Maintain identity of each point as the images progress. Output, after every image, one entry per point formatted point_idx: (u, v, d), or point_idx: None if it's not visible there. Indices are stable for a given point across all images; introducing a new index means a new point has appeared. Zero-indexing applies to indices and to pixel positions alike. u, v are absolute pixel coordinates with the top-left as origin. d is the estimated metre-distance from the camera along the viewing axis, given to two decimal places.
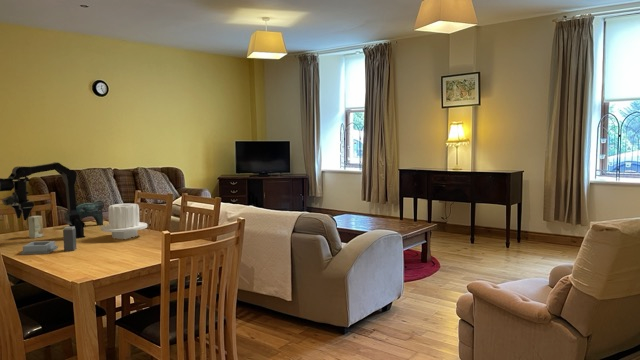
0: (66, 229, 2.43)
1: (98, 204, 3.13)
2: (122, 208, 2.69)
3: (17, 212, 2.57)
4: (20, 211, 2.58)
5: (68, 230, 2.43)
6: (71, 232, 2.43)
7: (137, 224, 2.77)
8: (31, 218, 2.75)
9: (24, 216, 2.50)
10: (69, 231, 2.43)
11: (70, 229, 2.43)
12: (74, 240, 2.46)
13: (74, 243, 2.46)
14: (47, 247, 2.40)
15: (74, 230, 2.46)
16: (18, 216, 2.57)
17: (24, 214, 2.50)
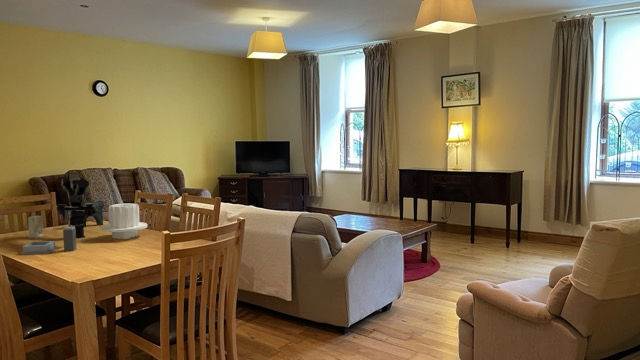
0: (66, 229, 2.43)
1: (98, 204, 3.13)
2: (122, 208, 2.69)
3: (65, 216, 2.53)
4: (66, 217, 2.54)
5: (68, 230, 2.43)
6: (71, 232, 2.43)
7: (137, 224, 2.77)
8: (31, 218, 2.75)
9: (84, 217, 2.54)
10: (69, 231, 2.43)
11: (70, 229, 2.43)
12: (74, 240, 2.46)
13: (74, 243, 2.46)
14: (47, 247, 2.40)
15: (74, 230, 2.46)
16: (64, 220, 2.52)
17: (85, 216, 2.55)
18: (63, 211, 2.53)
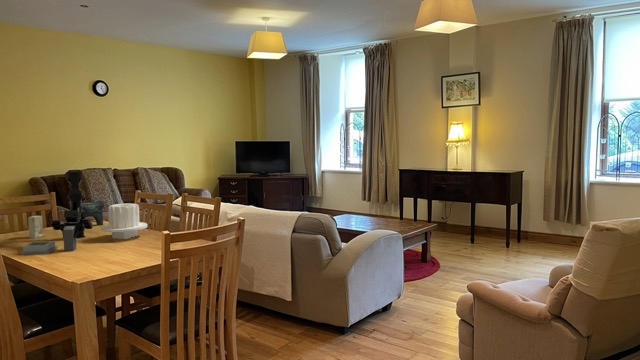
0: (66, 229, 2.43)
1: (98, 204, 3.13)
2: (122, 208, 2.69)
3: None
4: None
5: (68, 230, 2.43)
6: (71, 232, 2.43)
7: (137, 224, 2.77)
8: (31, 218, 2.75)
9: (76, 233, 2.46)
10: (69, 231, 2.43)
11: (70, 229, 2.43)
12: (74, 240, 2.46)
13: (74, 243, 2.46)
14: (47, 247, 2.40)
15: (74, 230, 2.46)
16: None
17: (77, 232, 2.46)
18: (62, 227, 2.46)
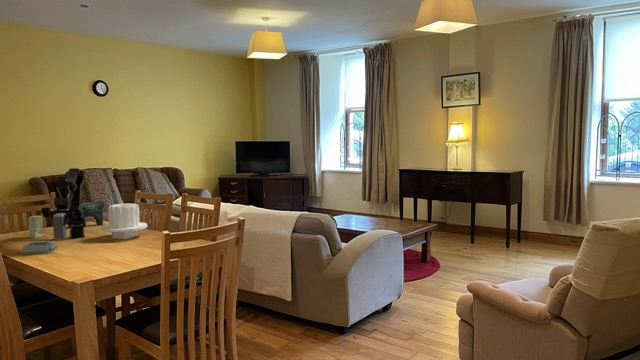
0: (56, 216, 2.42)
1: (98, 204, 3.13)
2: (122, 208, 2.69)
3: None
4: None
5: (58, 217, 2.42)
6: (61, 219, 2.42)
7: (137, 224, 2.77)
8: (31, 218, 2.75)
9: (66, 221, 2.44)
10: (59, 218, 2.42)
11: (60, 216, 2.42)
12: (64, 227, 2.45)
13: (64, 230, 2.44)
14: (47, 247, 2.40)
15: (64, 217, 2.45)
16: None
17: (67, 219, 2.45)
18: (52, 214, 2.44)
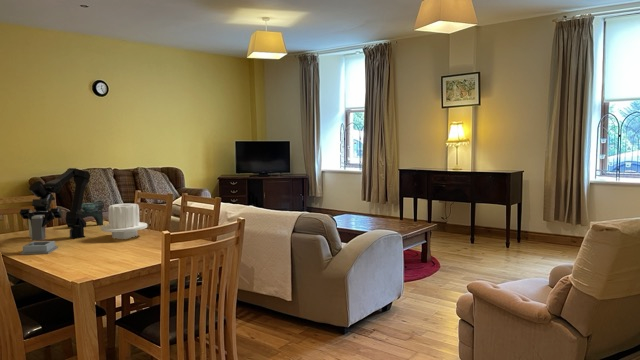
0: (34, 218, 2.40)
1: (98, 204, 3.13)
2: (122, 208, 2.69)
3: None
4: None
5: (36, 219, 2.40)
6: (40, 221, 2.40)
7: (137, 224, 2.77)
8: None
9: (44, 222, 2.43)
10: (37, 220, 2.40)
11: (38, 218, 2.40)
12: (43, 229, 2.43)
13: (43, 232, 2.43)
14: (47, 247, 2.40)
15: (43, 219, 2.43)
16: None
17: (45, 220, 2.43)
18: (31, 216, 2.43)
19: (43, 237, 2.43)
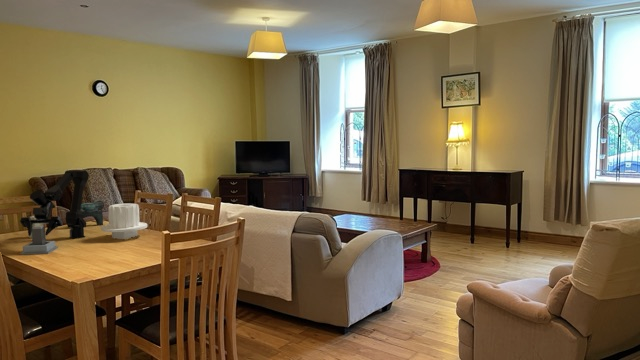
0: (35, 228, 2.40)
1: (98, 204, 3.13)
2: (122, 208, 2.69)
3: (30, 229, 2.43)
4: (31, 230, 2.44)
5: (37, 229, 2.41)
6: (40, 231, 2.41)
7: (137, 224, 2.77)
8: (31, 218, 2.75)
9: (48, 230, 2.43)
10: (38, 230, 2.41)
11: (39, 228, 2.41)
12: (43, 239, 2.43)
13: (43, 242, 2.43)
14: (47, 247, 2.40)
15: (43, 229, 2.44)
16: (29, 233, 2.41)
17: (49, 229, 2.44)
18: (28, 224, 2.43)
19: None
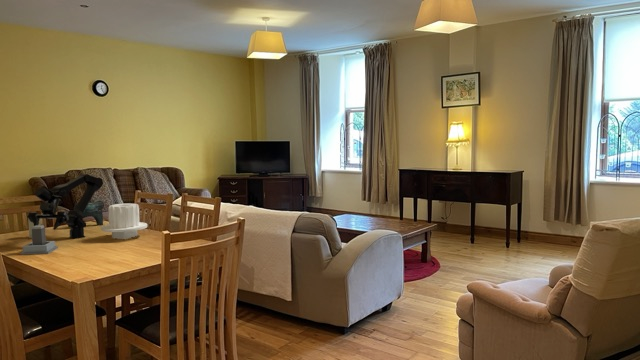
0: (35, 228, 2.40)
1: (98, 204, 3.13)
2: (122, 208, 2.69)
3: (36, 224, 2.51)
4: (37, 225, 2.52)
5: (37, 229, 2.41)
6: (40, 231, 2.41)
7: (137, 224, 2.77)
8: None
9: (56, 225, 2.52)
10: (38, 230, 2.41)
11: (39, 228, 2.41)
12: (43, 239, 2.43)
13: (43, 242, 2.43)
14: (47, 247, 2.40)
15: (43, 229, 2.44)
16: None
17: (57, 223, 2.53)
18: (34, 219, 2.51)
19: None
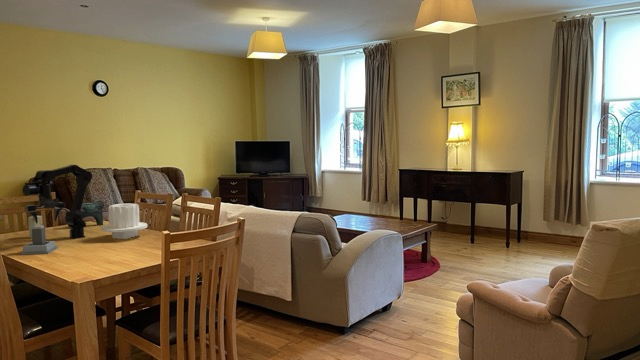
0: (35, 228, 2.40)
1: (98, 204, 3.13)
2: (122, 208, 2.69)
3: None
4: None
5: (37, 229, 2.41)
6: (40, 231, 2.41)
7: (137, 224, 2.77)
8: (31, 218, 2.75)
9: None
10: (38, 230, 2.41)
11: (39, 228, 2.41)
12: (43, 239, 2.43)
13: (43, 242, 2.43)
14: (47, 247, 2.40)
15: (43, 229, 2.44)
16: None
17: None
18: (35, 213, 2.54)
19: None
